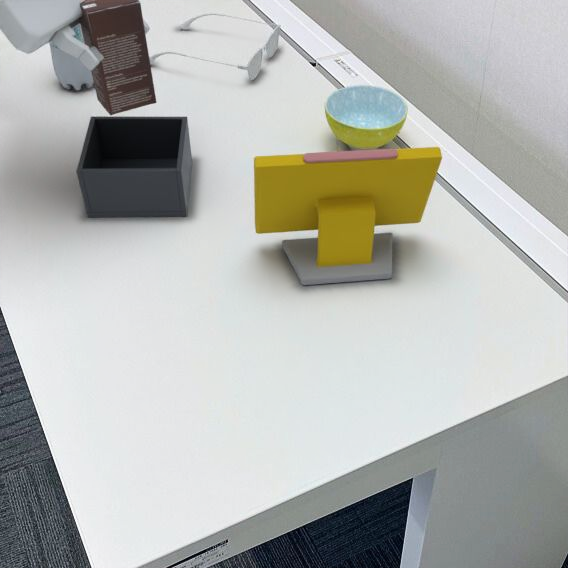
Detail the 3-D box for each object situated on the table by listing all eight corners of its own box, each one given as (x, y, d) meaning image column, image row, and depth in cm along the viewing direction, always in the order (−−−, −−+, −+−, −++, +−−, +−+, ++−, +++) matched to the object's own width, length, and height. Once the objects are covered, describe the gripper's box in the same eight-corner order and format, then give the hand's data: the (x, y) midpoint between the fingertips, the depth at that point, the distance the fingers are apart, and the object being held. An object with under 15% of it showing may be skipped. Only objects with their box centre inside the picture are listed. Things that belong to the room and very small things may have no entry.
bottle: (46, 84, 117) (11, -56, 102) (81, 67, 121) (51, -70, 106) (77, 99, 114) (45, -43, 100) (111, 81, 118) (85, -57, 103)
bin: (87, 217, 96) (76, 171, 91) (100, 161, 104) (90, 116, 99) (187, 216, 97) (181, 170, 92) (192, 161, 105) (187, 116, 100)
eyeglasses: (248, 88, 119) (247, 64, 116) (141, 67, 122) (137, 42, 119) (282, 45, 129) (282, 21, 126) (182, 26, 132) (180, 2, 129)
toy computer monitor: (415, 234, 97) (431, 122, 85) (429, 276, 92) (449, 163, 80) (255, 245, 94) (250, 131, 82) (261, 289, 89) (256, 174, 77)
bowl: (343, 174, 105) (345, 134, 100) (311, 131, 112) (312, 92, 107) (416, 158, 108) (422, 119, 104) (381, 117, 115) (385, 78, 111)
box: (142, 87, 93) (126, -14, 85) (157, 104, 91) (142, 2, 82) (94, 99, 91) (72, -4, 82) (108, 117, 89) (88, 13, 80)
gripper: (-33, -49, 73) (73, 75, 77) (103, -108, 85) (186, 1, 90) (-54, -11, 77) (47, 104, 82) (78, -73, 90) (159, 29, 95)
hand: (121, 49), depth 86 cm, fingers closed on box, 7 cm apart
